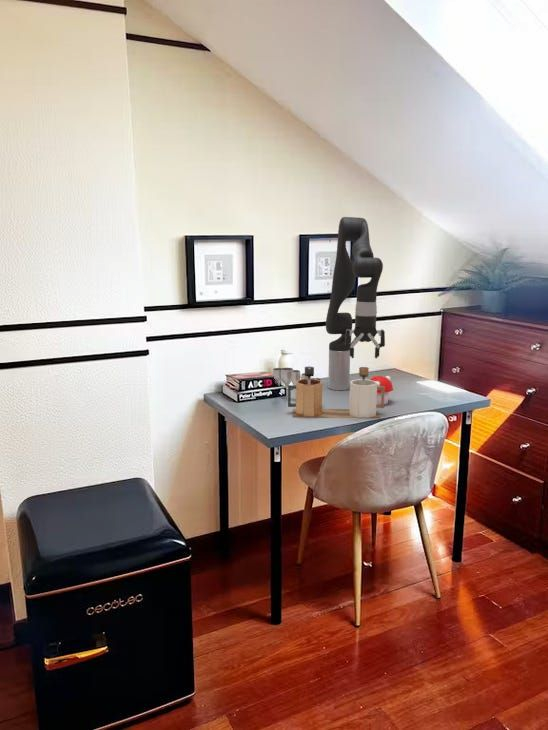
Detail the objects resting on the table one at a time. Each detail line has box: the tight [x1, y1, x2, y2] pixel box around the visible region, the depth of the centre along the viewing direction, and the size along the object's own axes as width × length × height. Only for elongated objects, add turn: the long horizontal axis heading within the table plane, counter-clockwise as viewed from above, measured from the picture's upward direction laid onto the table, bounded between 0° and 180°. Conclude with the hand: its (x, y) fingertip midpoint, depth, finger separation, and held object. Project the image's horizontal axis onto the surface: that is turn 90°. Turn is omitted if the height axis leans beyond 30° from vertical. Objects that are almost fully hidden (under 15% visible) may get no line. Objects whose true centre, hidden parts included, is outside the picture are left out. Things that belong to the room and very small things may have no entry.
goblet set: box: [272, 367, 322, 401], centre depth 247 cm, size 28×6×13 cm, turn 38°
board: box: [292, 408, 381, 419], centre depth 230 cm, size 11×32×1 cm, turn 88°
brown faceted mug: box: [287, 378, 323, 417], centre depth 229 cm, size 10×13×12 cm
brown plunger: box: [358, 366, 370, 385], centre depth 228 cm, size 7×7×16 cm
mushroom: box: [369, 375, 394, 405], centre depth 244 cm, size 11×11×12 cm
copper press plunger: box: [304, 366, 315, 385], centre depth 229 cm, size 7×7×16 cm
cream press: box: [348, 378, 385, 419], centre depth 229 cm, size 10×13×12 cm
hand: (364, 357), depth 225 cm, fingers open, 8 cm apart
